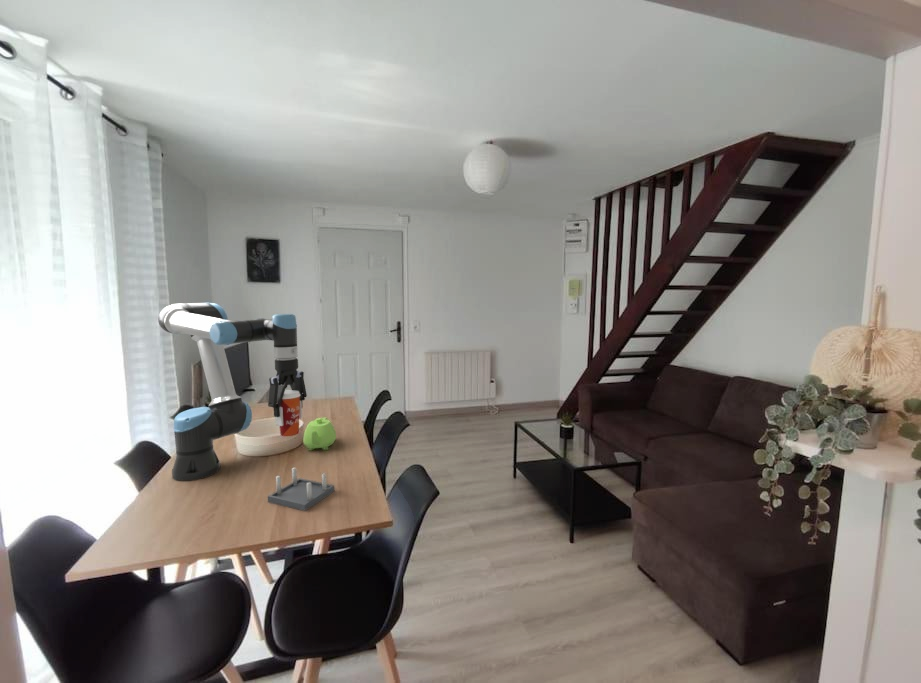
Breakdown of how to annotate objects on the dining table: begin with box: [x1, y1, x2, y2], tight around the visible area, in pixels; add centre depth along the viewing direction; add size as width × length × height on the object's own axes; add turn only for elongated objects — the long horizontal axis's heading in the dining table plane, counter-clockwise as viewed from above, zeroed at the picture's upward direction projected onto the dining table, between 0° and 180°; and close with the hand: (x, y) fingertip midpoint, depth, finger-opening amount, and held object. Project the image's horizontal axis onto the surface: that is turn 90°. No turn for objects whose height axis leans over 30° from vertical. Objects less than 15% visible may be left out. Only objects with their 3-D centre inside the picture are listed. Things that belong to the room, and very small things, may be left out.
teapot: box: [302, 416, 337, 451], centre depth 179 cm, size 20×13×13 cm
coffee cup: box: [279, 389, 301, 437], centre depth 146 cm, size 8×8×15 cm
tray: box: [267, 466, 336, 512], centre depth 135 cm, size 15×14×7 cm
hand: (289, 421), depth 146 cm, fingers closed on coffee cup, 8 cm apart
